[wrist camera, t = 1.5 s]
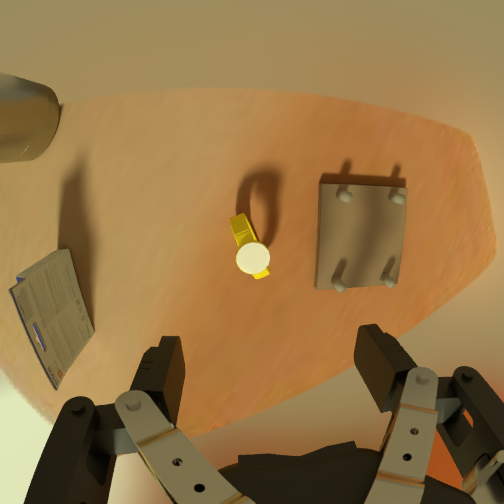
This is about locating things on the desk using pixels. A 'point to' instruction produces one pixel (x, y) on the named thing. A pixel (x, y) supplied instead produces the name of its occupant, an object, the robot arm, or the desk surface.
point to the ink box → (53, 312)
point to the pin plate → (359, 235)
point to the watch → (249, 248)
